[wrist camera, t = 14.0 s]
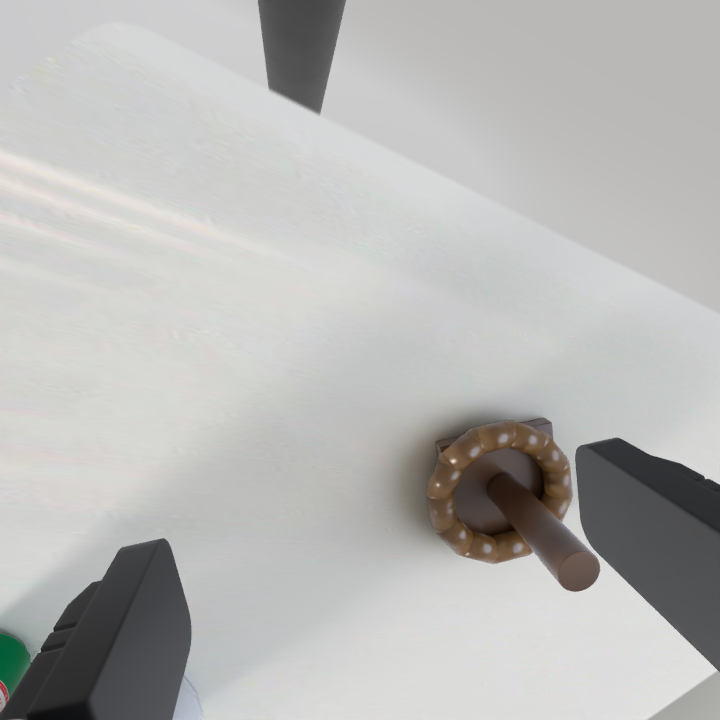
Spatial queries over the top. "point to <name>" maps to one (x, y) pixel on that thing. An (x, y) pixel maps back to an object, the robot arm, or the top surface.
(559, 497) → the ring
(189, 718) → the salt shaker
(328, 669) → the top surface
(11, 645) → the soda can
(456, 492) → the peg on square base
